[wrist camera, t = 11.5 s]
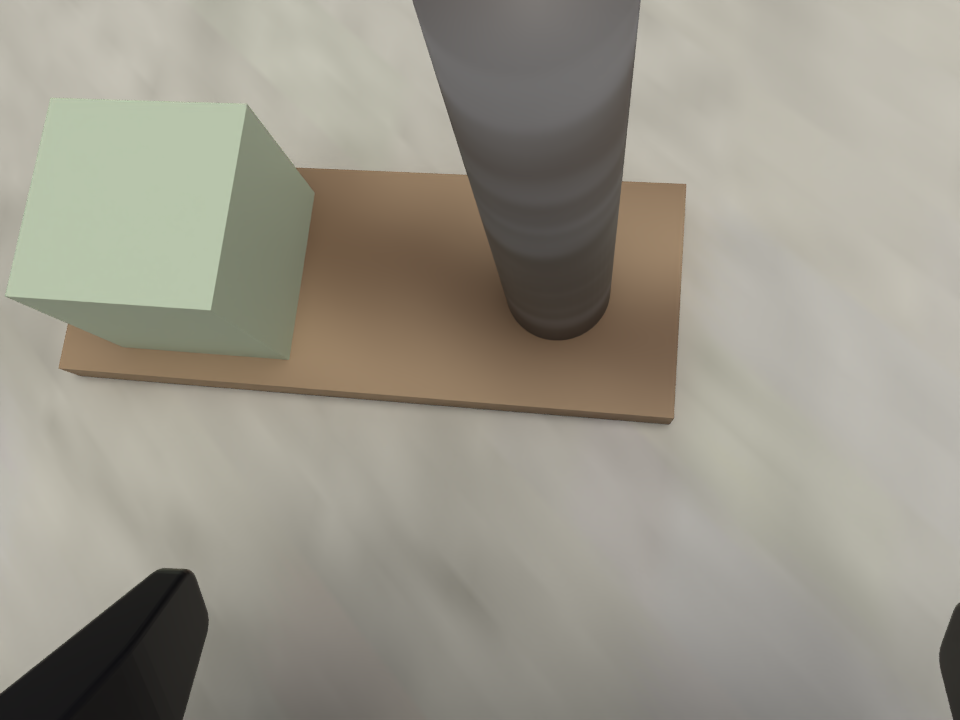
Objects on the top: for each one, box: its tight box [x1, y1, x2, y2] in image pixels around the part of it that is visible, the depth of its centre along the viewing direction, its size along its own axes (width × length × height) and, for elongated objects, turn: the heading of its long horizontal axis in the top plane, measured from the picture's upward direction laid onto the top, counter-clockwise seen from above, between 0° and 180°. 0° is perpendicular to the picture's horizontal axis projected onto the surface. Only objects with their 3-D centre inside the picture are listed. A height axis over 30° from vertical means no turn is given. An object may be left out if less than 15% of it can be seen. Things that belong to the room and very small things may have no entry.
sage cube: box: [5, 98, 315, 360], centre depth 20 cm, size 5×5×5 cm
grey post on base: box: [59, 0, 686, 424], centre depth 16 cm, size 6×16×13 cm, turn 84°
